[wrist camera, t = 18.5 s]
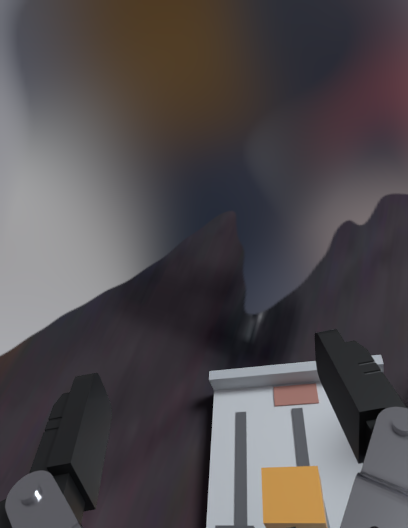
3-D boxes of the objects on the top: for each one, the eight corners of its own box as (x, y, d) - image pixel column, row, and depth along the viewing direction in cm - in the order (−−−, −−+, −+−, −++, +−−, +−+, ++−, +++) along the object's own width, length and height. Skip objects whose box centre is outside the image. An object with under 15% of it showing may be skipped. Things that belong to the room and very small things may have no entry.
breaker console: (468, 667, 28) (481, 662, 25) (207, 646, 33) (188, 639, 29) (380, 378, 46) (380, 352, 43) (219, 392, 51) (208, 369, 47)
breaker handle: (339, 576, 32) (325, 523, 23) (293, 575, 32) (263, 523, 23) (332, 530, 34) (317, 465, 25) (290, 530, 35) (261, 467, 26)
